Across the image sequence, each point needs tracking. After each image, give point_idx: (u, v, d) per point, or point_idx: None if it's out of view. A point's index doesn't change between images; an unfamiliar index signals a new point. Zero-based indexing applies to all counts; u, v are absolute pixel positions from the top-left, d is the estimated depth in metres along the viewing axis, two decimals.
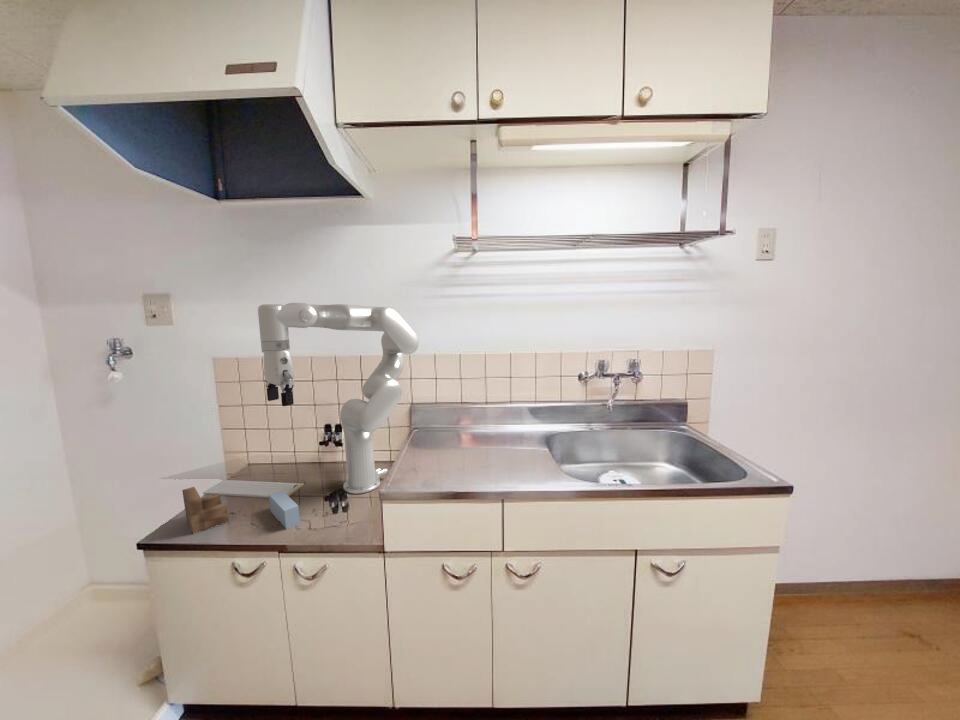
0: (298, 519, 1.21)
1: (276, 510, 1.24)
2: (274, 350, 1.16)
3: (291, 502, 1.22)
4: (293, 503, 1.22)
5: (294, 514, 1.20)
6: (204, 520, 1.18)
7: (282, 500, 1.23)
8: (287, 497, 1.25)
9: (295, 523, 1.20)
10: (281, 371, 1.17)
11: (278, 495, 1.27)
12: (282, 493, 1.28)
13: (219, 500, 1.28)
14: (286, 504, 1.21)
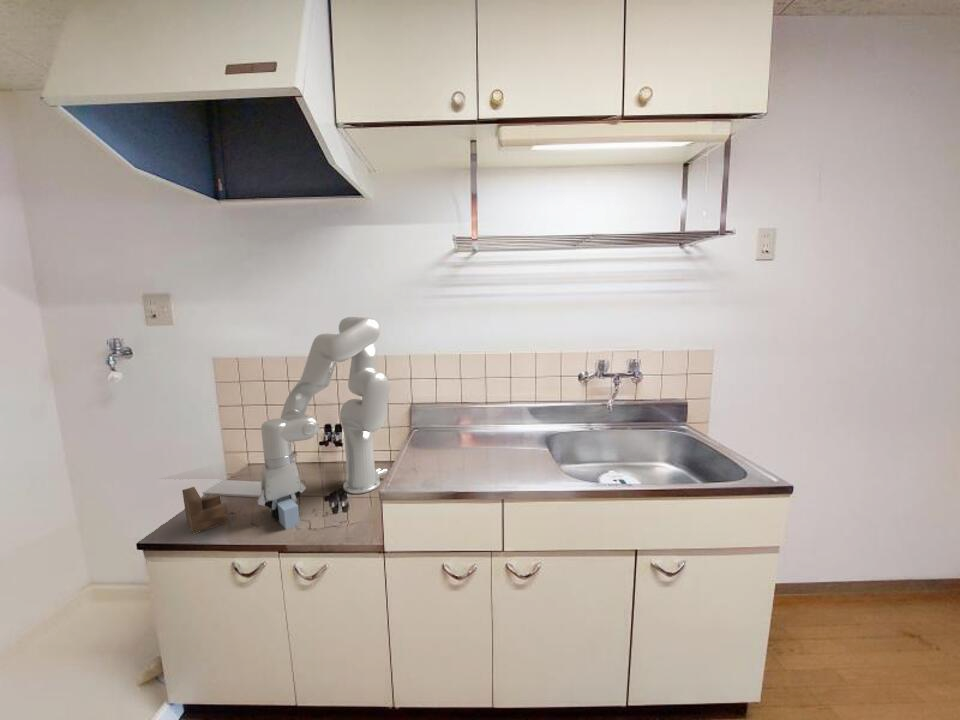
0: (298, 519, 1.21)
1: None
2: (292, 461, 1.23)
3: (291, 502, 1.22)
4: (293, 503, 1.22)
5: (293, 514, 1.20)
6: (204, 520, 1.18)
7: (281, 500, 1.23)
8: (286, 497, 1.25)
9: (294, 523, 1.20)
10: (298, 477, 1.26)
11: None
12: None
13: (219, 500, 1.28)
14: (285, 503, 1.21)
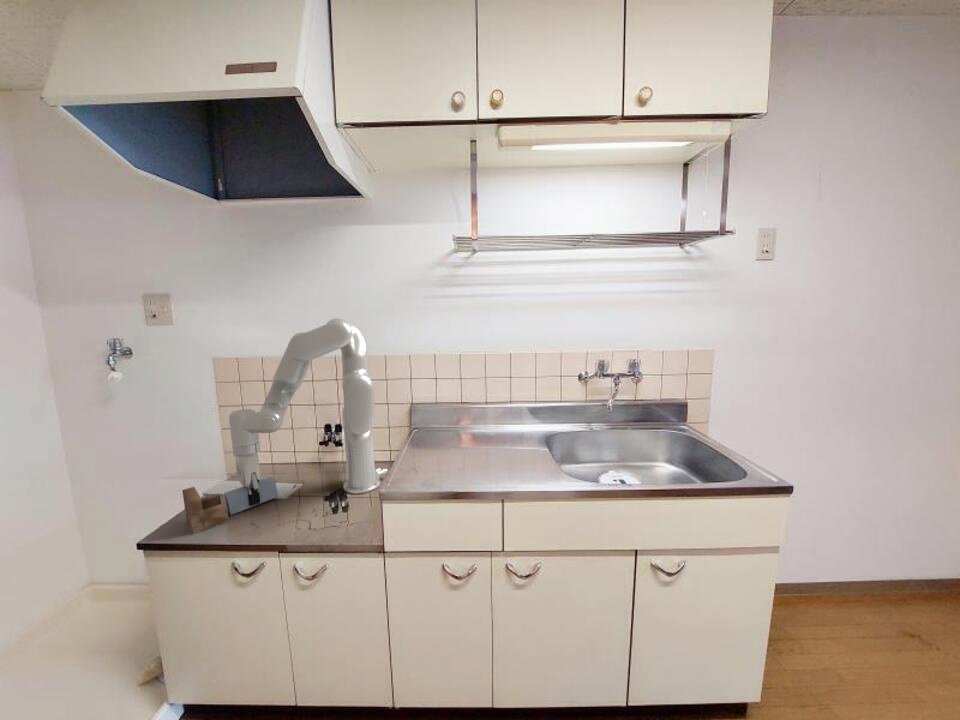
0: None
1: None
2: None
3: None
4: (263, 479, 1.35)
5: None
6: (204, 520, 1.18)
7: (251, 486, 1.31)
8: None
9: None
10: None
11: (236, 491, 1.28)
12: (233, 490, 1.29)
13: (219, 500, 1.28)
14: (261, 482, 1.33)
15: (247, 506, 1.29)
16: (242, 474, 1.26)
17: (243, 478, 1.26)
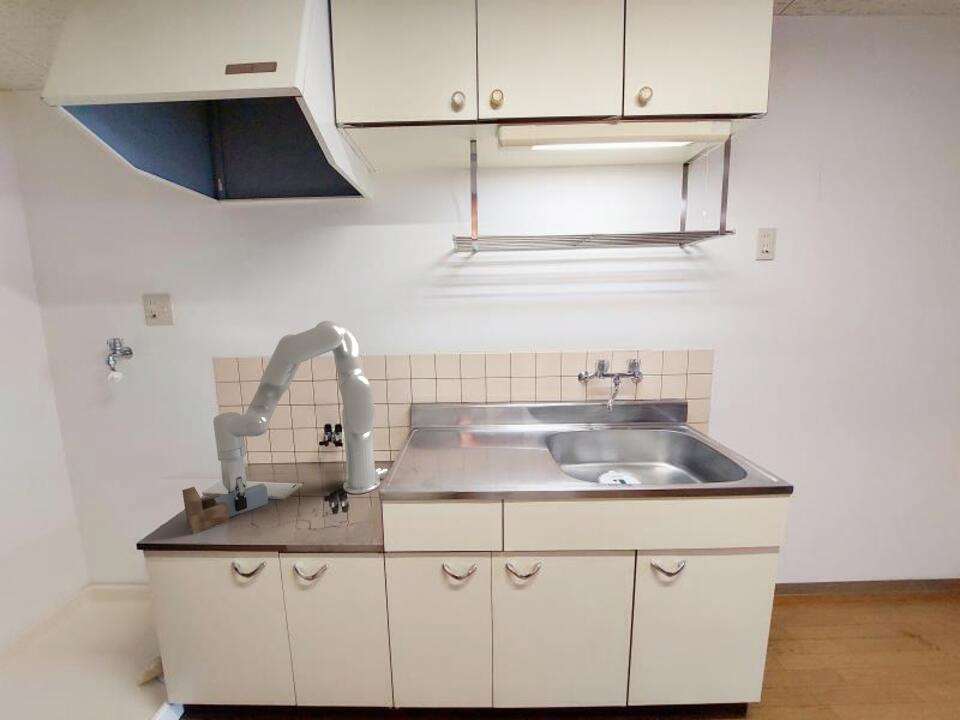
0: None
1: None
2: None
3: (251, 487, 1.32)
4: (254, 486, 1.33)
5: None
6: (204, 520, 1.18)
7: None
8: (238, 491, 1.30)
9: None
10: None
11: (226, 497, 1.26)
12: (223, 496, 1.27)
13: None
14: (252, 489, 1.31)
15: (236, 512, 1.27)
16: (227, 479, 1.23)
17: (228, 483, 1.23)
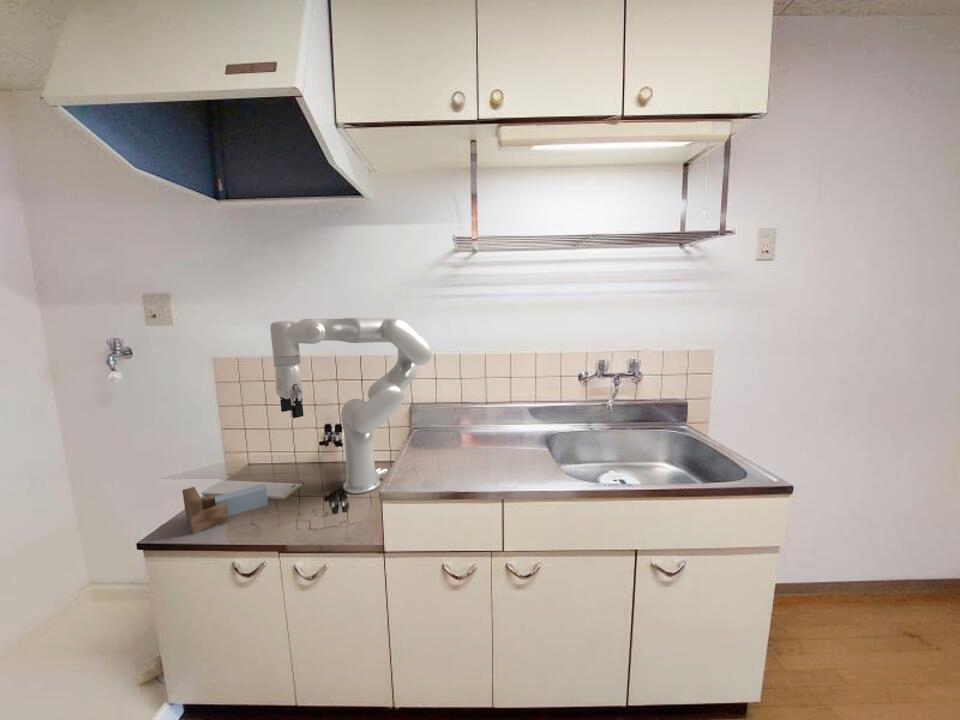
0: None
1: (239, 504, 1.28)
2: None
3: (252, 487, 1.32)
4: (255, 486, 1.33)
5: None
6: (204, 520, 1.18)
7: (242, 492, 1.29)
8: (238, 491, 1.30)
9: None
10: None
11: (226, 496, 1.27)
12: (223, 495, 1.28)
13: None
14: (252, 489, 1.31)
15: (235, 512, 1.27)
16: (284, 385, 1.23)
17: (285, 389, 1.23)
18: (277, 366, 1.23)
